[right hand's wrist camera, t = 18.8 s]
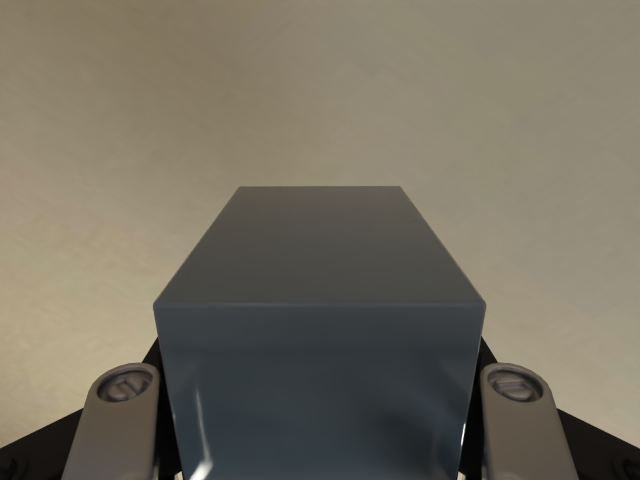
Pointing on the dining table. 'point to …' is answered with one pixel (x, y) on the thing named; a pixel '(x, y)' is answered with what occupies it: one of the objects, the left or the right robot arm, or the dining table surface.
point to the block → (319, 340)
